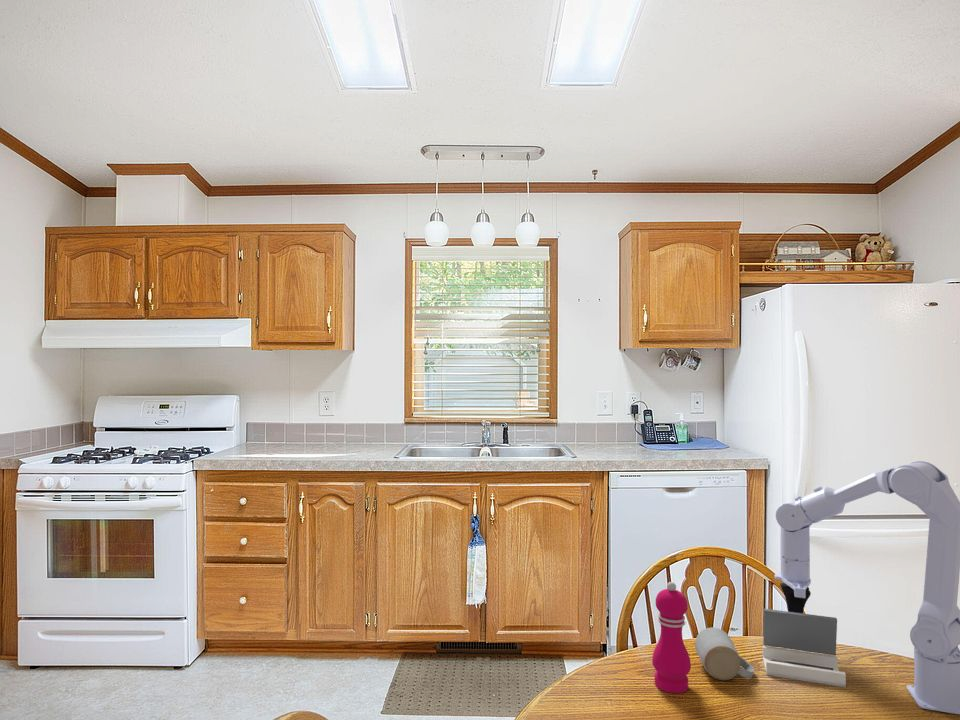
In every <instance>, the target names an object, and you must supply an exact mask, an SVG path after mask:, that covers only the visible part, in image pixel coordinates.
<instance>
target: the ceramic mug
mask: <svg viewBox="0 0 960 720" xmlns="http://www.w3.org/2000/svg"><path fill="white" fill-rule="evenodd" d="M694 649H695V652H696V654H697V655H698V658H699V659H700V662H701V664H702V666H703V667H704V670H705V671H706V672H707V673H708V675H710V676H711V677H713V678H714V679H716V680H719V681H729V680H732V679H733V678H735V677H736V676H737V675H739V676H740V677H743V678H745V679H751V678H752V677H753V675H754V674H755V668H754V667H753V666H752V665H751V664H750V662H748V661H747V660H746V659H744V658H743V657H741V656H740V655H739V652H738V651H737V648H736V647H735V644H734V642H733V640H732V639H731V637H730V636H729V634H728V633H727V632H725V630H723V629H721V628H718V627H707V628H704V629H702V630H701V631H699V633H698V634H697V636H696V638H695V641H694Z"/></svg>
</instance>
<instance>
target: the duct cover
mask: <svg viewBox="0 0 960 720" xmlns="http://www.w3.org/2000/svg"><path fill="white" fill-rule="evenodd" d="M837 632H838V619H837V617H833V616H825V615H817V614H809V613H803V614H802V613H795V612H788V610H787V611H786V610H777V609H770V608H763V634H762V635H763V636H762V640H763V641H762V644H763V646H769V647H776V648H783V649H790V650H797V651H804V652H811V653H818V654H824V655H831V656H837V634H838V633H837Z"/></svg>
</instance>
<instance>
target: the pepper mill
mask: <svg viewBox="0 0 960 720" xmlns="http://www.w3.org/2000/svg"><path fill="white" fill-rule="evenodd" d="M688 606H689V605H688V600H687V597H686V596H685V594H683V593H682V592H681V591H680V590H677V585H676V583H675V582H673V581H669V582H668V583H667V584H666V588H665V589H662V590H660V591H659V592H658V593H657V594H656V597H655V607H656V609H657V610H658V613H657V617H658V619H657V621H658V623H659V624H660V634H659V635H660V636H659V639H658V641H657V643H656V645H655V647H654V649H653V653H652V659H651V663H652V666H653V668H654V670H655V672H654V685H655V686H656V687H657V688H658V689H660V690H661V691H662V692H663V691H664V692H665V693H671V694H682V693H683V694H684V693H685V692H686V691H688V689H689V677H688V676H687V675H688V674H689V673H690V671H691V669H692V666H691V658H690V655H689V653H688V650H687V648H686V645H685V644H684V639H683V627H684V626H685V625H686V621H685V620H686V617H685V614H686V613H687V612H688Z"/></svg>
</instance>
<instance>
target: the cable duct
mask: <svg viewBox="0 0 960 720" xmlns="http://www.w3.org/2000/svg"><path fill="white" fill-rule="evenodd" d="M762 661H763V664H764V670H765V673H766V674H765V675H766V676H772V677H779V678H784V679H785V678H786V679H792V680H798V681H803V682H810V683H817V684H823V685H827V686H835V687H841V688H847V674H846V672H845V671H840V670H839V659H838V656H837V655H836V656H835V655H828V654H821V653H814V652H807V651H800V650H793V649H786V648H780V647H773V646H766V645H762Z"/></svg>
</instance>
